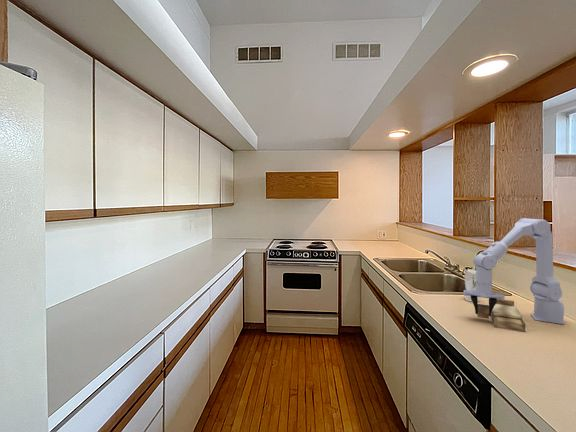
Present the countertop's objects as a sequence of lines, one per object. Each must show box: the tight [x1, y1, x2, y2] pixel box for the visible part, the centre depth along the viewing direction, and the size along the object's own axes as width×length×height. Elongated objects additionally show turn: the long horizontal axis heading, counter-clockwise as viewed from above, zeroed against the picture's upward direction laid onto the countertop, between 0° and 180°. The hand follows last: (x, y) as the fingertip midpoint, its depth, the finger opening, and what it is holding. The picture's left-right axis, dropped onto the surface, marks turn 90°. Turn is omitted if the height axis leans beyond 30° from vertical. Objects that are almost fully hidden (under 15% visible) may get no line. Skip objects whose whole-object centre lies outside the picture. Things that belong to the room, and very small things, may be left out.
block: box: [476, 303, 490, 320], centre depth 130 cm, size 4×4×4 cm
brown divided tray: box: [490, 312, 526, 333], centre depth 130 cm, size 10×20×3 cm, turn 152°
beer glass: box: [464, 269, 480, 303], centre depth 156 cm, size 7×7×15 cm
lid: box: [492, 299, 523, 319], centre depth 132 cm, size 10×15×3 cm, turn 152°
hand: (482, 314), depth 130 cm, fingers closed on block, 4 cm apart
